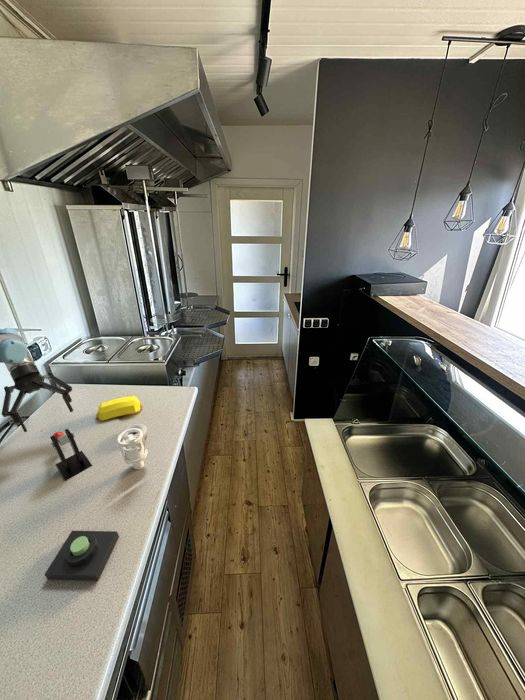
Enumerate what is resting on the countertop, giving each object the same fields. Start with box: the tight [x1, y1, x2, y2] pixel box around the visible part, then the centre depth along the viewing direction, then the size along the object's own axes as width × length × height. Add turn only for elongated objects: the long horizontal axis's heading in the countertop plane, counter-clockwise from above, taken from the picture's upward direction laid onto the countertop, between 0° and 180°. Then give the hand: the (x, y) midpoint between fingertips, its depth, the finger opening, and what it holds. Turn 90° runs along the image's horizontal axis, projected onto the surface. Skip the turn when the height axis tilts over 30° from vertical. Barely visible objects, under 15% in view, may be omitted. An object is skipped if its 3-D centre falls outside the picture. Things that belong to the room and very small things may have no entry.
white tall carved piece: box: [117, 428, 149, 470], centre depth 91 cm, size 7×7×15 cm
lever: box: [53, 431, 70, 447], centre depth 94 cm, size 14×4×4 cm, turn 46°
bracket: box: [49, 428, 93, 482], centre depth 92 cm, size 10×8×14 cm
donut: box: [118, 423, 148, 442], centre depth 106 cm, size 10×4×10 cm
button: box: [70, 536, 90, 556], centre depth 68 cm, size 4×4×2 cm
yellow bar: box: [95, 395, 143, 421], centre depth 119 cm, size 18×7×8 cm
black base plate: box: [44, 530, 120, 582], centre depth 69 cm, size 12×10×4 cm
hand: (49, 420), depth 98 cm, fingers open, 13 cm apart
